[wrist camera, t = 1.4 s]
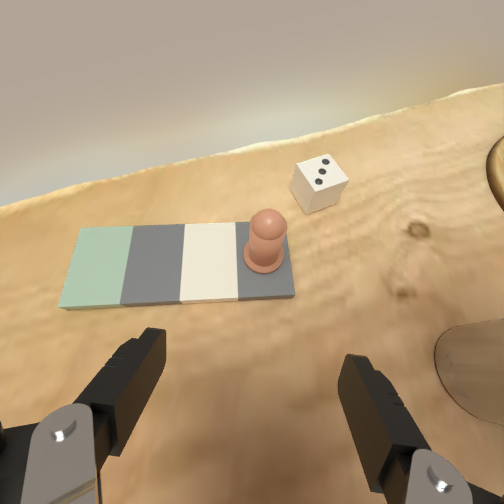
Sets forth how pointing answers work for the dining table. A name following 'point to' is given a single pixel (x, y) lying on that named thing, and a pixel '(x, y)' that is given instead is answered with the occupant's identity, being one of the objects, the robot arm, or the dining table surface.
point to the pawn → (265, 242)
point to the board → (168, 267)
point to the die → (317, 183)
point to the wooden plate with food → (497, 171)
